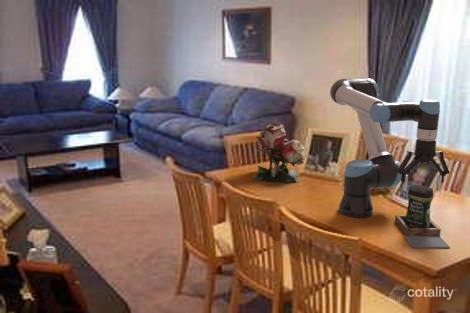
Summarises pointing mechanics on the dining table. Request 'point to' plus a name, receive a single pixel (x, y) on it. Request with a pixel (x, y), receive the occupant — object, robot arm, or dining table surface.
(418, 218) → the coffee jar
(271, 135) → the rose bouquet
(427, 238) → the slate mat
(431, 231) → the holder frame
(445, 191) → the dining table surface
